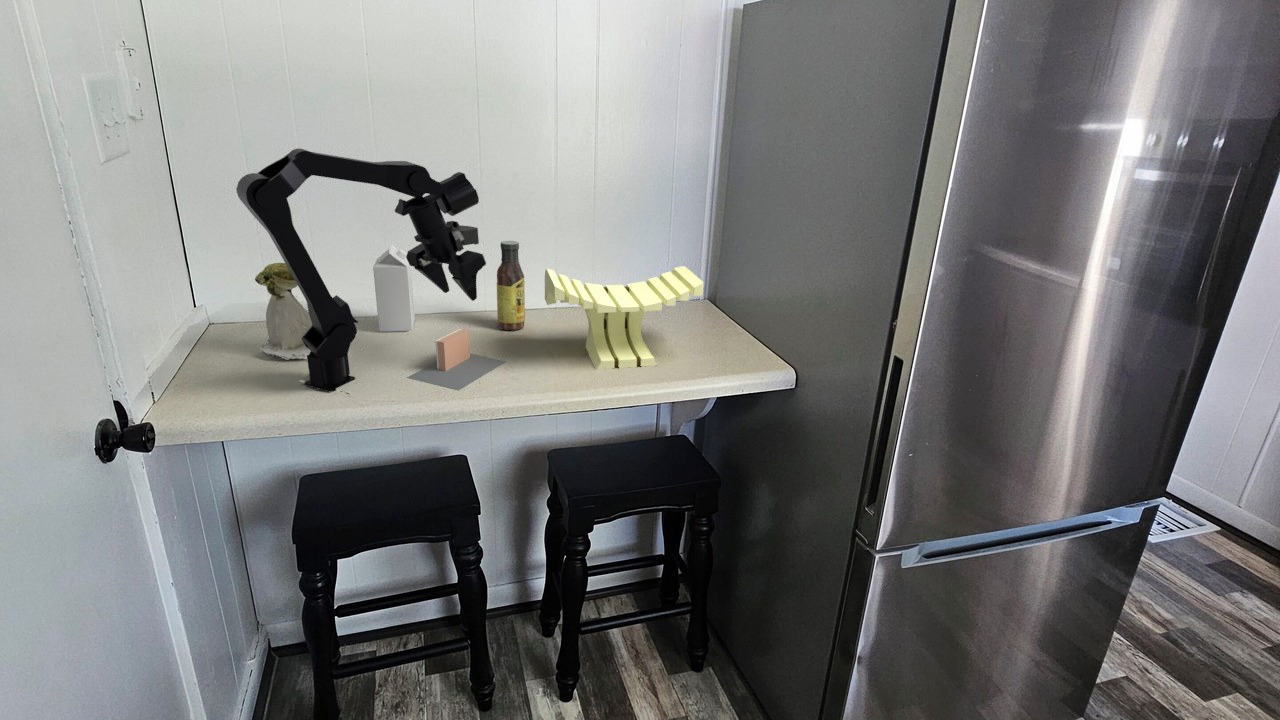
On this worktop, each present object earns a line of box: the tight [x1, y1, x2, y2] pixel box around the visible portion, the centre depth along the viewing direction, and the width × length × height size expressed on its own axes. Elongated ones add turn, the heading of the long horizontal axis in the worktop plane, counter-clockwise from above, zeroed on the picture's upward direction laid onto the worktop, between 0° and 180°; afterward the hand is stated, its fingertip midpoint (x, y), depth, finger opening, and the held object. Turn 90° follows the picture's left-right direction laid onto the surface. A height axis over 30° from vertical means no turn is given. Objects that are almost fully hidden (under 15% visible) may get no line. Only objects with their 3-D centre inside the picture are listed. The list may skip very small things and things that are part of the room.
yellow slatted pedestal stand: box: [544, 265, 705, 370], centre depth 150 cm, size 30×16×18 cm, turn 104°
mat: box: [406, 352, 507, 391], centre depth 141 cm, size 16×12×1 cm
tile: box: [435, 328, 471, 371], centre depth 142 cm, size 8×2×6 cm, turn 157°
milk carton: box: [372, 240, 416, 333], centre depth 159 cm, size 7×7×19 cm
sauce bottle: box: [496, 240, 526, 331], centre depth 162 cm, size 7×6×20 cm
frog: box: [254, 262, 312, 360], centre depth 143 cm, size 12×13×18 cm
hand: (460, 295), depth 145 cm, fingers open, 9 cm apart
